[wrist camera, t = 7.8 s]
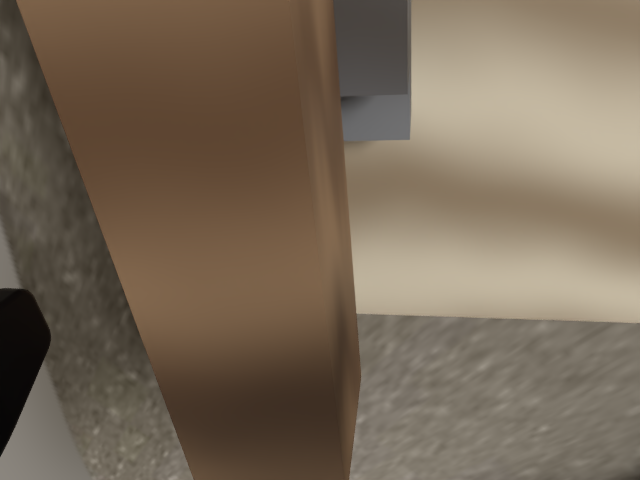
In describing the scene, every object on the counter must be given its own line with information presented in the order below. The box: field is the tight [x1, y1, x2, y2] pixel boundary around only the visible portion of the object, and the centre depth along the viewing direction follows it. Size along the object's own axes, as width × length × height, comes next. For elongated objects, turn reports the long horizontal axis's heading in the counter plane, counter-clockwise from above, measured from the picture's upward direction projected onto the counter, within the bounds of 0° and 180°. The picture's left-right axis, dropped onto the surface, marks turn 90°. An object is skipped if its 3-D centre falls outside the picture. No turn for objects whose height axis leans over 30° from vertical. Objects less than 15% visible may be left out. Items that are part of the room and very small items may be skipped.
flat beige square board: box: [333, 0, 640, 323], centre depth 14 cm, size 22×18×5 cm
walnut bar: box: [16, 0, 361, 480], centre depth 11 cm, size 20×4×4 cm, turn 6°
